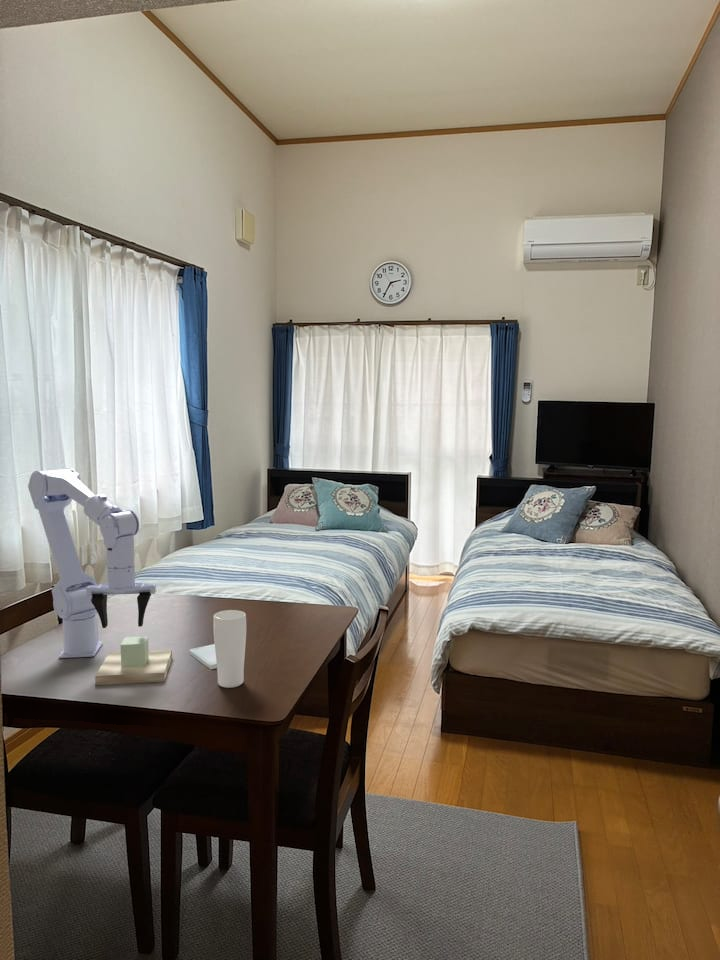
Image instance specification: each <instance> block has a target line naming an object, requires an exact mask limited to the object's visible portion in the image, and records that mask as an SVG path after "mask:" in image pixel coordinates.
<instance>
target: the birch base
mask: <svg viewBox="0 0 720 960" xmlns="http://www.w3.org/2000/svg"><path fill="white" fill-rule="evenodd" d="M172 661H173V649H163V650H162V649H161V650H160V649H159V650H149V659H148V661H147V663H146V665H145V666H138V667H121V651H120V652H119V651H116V652H108V654H107V656H106V657H105V659H104V661H103V662H102V664H101V666H100V667H99V669H98V670H97V672H96V674H95V675H94V679H95V680H94V681H95V682H94V683H95V684H94V685H95V686H107V685H123V684H124V685H126V684H127V685H128V684H145V683H146V684H147V683H164V682H165V681H166V678H167V675H168V673H169V669H170V666H171V663H172Z"/></svg>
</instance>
